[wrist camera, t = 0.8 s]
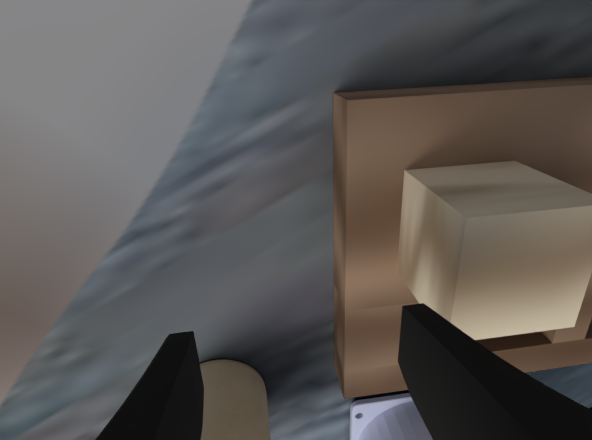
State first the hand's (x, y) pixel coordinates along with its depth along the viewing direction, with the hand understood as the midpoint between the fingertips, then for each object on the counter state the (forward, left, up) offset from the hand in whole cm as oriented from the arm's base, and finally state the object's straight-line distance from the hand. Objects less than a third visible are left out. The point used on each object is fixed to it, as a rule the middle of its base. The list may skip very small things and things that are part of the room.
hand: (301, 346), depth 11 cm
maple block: (0, -8, -7) cm, 11 cm away
